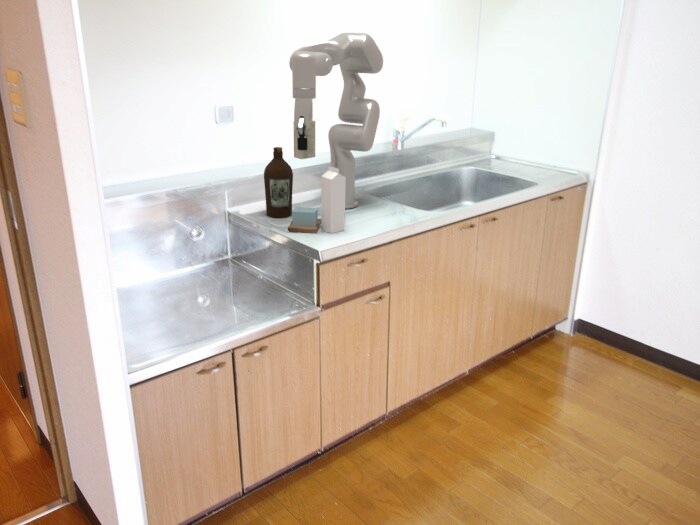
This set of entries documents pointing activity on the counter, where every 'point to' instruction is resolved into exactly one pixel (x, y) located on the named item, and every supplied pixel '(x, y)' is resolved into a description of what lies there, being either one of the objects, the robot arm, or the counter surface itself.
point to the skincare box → (310, 143)
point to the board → (304, 228)
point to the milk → (333, 201)
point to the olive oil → (278, 186)
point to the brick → (304, 216)
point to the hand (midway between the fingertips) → (304, 147)
